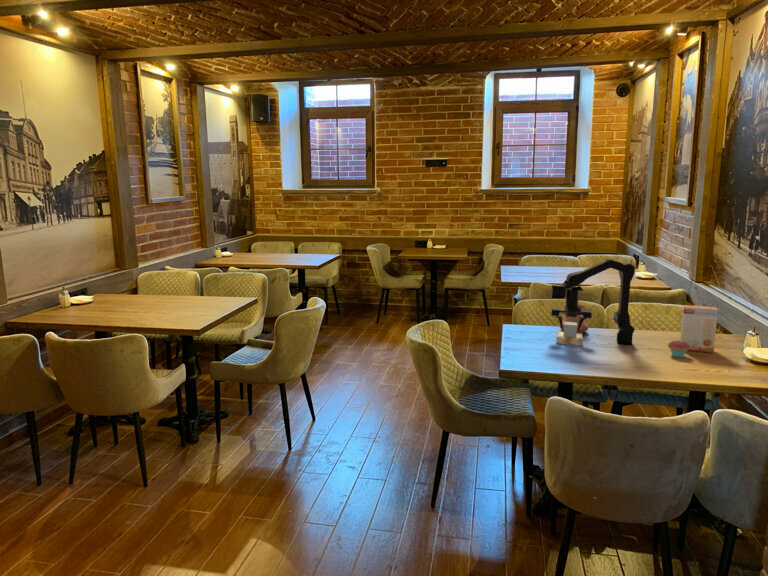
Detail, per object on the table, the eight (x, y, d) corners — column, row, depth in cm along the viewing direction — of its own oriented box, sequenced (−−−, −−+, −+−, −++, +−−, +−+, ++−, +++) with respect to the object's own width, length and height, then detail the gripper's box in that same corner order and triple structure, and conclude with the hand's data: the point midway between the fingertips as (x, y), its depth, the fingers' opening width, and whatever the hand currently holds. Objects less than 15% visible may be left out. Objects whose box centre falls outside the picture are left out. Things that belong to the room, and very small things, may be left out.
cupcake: (686, 354, 257) (689, 328, 254) (689, 359, 249) (692, 333, 247) (665, 352, 260) (668, 327, 257) (668, 357, 252) (671, 332, 249)
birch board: (581, 338, 281) (582, 333, 281) (582, 345, 270) (582, 339, 270) (556, 336, 285) (557, 331, 284) (556, 343, 274) (556, 337, 273)
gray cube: (576, 334, 279) (576, 322, 278) (576, 337, 273) (577, 325, 272) (563, 333, 281) (564, 321, 280) (563, 336, 275) (564, 324, 274)
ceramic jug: (593, 335, 287) (595, 308, 285) (566, 336, 286) (568, 308, 284) (579, 327, 305) (581, 302, 302) (553, 327, 304) (555, 302, 302)
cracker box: (712, 350, 263) (717, 306, 259) (713, 353, 258) (718, 309, 254) (678, 346, 269) (683, 304, 265) (679, 349, 264) (684, 306, 260)
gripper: (551, 301, 269) (550, 332, 272) (593, 303, 263) (590, 335, 266) (552, 296, 279) (550, 326, 282) (592, 299, 274) (589, 329, 277)
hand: (570, 329), depth 276 cm, fingers open, 7 cm apart
